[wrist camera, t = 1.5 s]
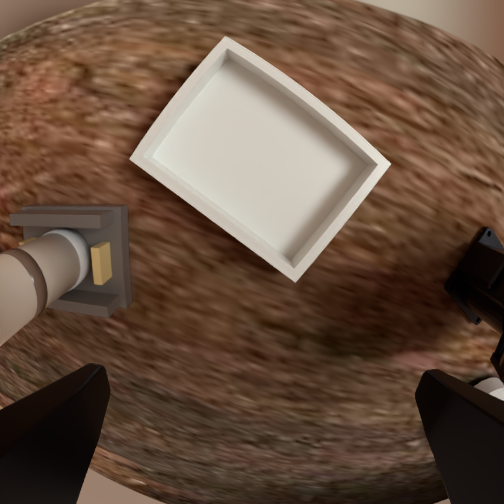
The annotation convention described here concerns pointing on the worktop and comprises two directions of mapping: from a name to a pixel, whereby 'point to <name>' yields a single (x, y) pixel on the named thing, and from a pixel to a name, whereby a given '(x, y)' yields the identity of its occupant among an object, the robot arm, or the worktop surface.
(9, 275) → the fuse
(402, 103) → the worktop surface
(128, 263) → the fuse holder
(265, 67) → the parts tray
